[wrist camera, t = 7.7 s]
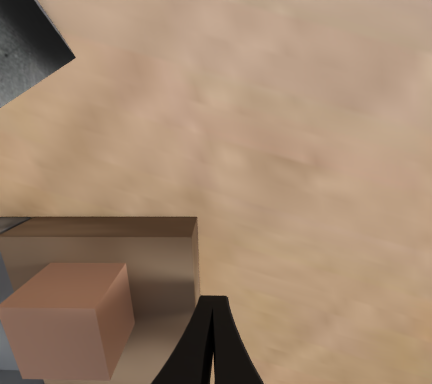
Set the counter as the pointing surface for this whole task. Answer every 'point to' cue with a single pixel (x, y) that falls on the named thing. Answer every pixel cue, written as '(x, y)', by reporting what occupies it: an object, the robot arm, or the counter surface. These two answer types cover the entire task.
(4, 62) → the meat cleaver
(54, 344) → the peach matte cube
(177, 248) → the walnut board
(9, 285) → the charcoal tray
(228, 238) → the counter surface
